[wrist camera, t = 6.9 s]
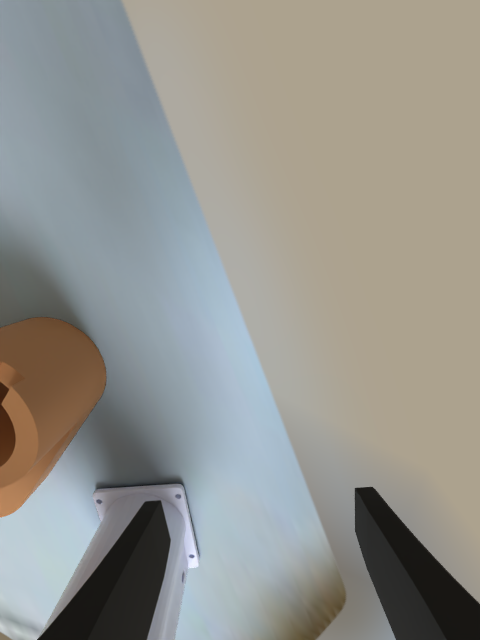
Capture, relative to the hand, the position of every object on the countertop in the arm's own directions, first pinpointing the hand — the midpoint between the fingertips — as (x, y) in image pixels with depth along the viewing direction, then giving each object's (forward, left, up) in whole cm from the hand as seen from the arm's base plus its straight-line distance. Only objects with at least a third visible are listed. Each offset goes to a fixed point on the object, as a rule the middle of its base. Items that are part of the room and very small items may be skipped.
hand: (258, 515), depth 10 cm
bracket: (-1, +19, -11) cm, 22 cm away
